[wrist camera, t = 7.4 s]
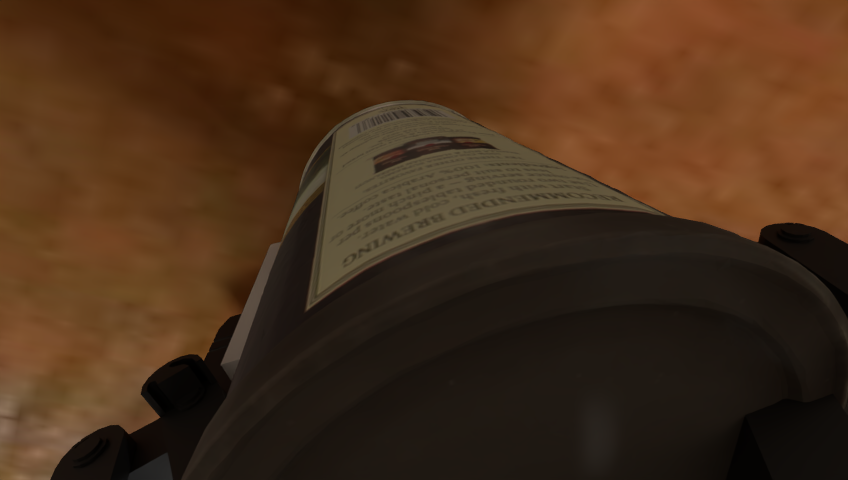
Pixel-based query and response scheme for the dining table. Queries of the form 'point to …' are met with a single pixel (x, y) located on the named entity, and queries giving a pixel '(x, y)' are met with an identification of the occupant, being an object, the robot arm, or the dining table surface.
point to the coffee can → (506, 323)
